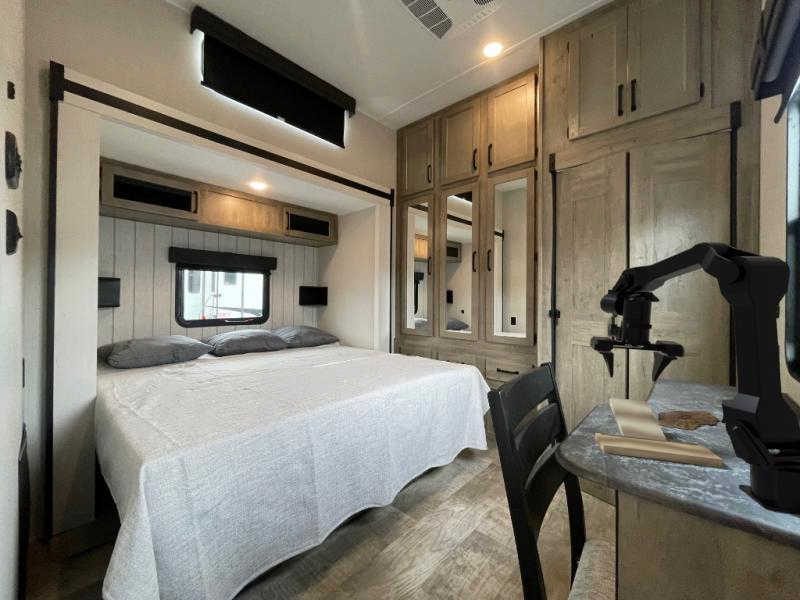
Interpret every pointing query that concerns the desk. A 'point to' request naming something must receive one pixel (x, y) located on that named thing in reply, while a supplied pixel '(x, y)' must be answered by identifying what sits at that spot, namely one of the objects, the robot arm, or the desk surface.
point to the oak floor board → (657, 449)
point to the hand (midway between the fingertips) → (632, 379)
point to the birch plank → (635, 419)
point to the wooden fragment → (686, 419)
